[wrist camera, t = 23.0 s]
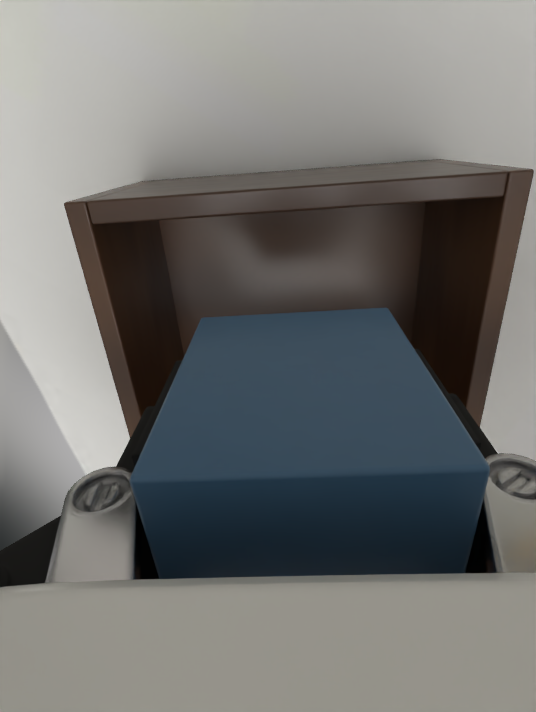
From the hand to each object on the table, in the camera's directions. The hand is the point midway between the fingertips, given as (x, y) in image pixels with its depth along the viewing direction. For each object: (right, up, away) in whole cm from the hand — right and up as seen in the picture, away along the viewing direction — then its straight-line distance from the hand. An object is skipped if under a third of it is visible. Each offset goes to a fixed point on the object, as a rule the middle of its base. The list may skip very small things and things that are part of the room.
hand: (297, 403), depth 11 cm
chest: (+1, +4, +13) cm, 14 cm away
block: (0, 0, +1) cm, 1 cm away
